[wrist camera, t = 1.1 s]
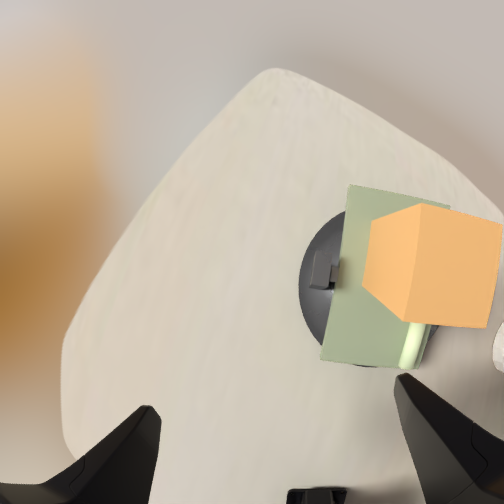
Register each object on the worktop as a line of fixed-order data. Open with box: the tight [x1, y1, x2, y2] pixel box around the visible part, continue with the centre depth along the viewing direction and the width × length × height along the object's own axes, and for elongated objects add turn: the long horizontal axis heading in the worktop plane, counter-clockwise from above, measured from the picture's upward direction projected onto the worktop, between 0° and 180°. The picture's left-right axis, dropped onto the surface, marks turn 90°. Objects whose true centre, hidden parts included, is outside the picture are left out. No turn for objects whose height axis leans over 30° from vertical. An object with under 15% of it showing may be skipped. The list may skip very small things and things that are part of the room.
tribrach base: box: [299, 211, 439, 367], centre depth 21 cm, size 15×15×6 cm
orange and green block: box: [320, 185, 503, 370], centre depth 15 cm, size 14×10×11 cm
